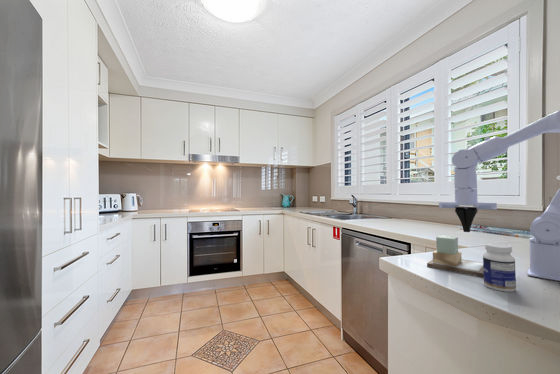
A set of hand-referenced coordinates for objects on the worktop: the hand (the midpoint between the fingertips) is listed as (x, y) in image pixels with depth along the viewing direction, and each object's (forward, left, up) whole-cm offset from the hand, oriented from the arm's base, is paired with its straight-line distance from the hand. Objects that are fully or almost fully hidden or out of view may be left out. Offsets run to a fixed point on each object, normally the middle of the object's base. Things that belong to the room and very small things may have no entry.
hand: (466, 231), depth 78 cm
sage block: (+4, +8, -6) cm, 10 cm away
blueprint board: (+1, +7, -10) cm, 12 cm away
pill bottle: (-9, +19, -10) cm, 24 cm away
